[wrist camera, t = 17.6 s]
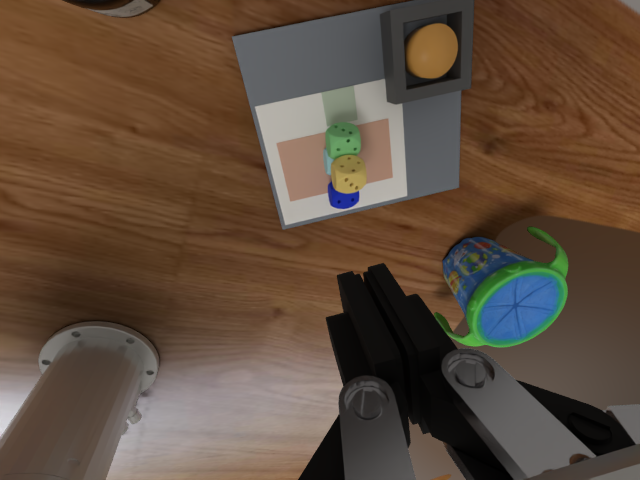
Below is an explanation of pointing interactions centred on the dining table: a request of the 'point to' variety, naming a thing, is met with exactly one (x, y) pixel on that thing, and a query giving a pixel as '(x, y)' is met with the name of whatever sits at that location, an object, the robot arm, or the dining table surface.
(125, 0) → the ink bottle
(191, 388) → the dining table surface
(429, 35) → the button
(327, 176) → the colouring board
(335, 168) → the dice
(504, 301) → the snack cup
